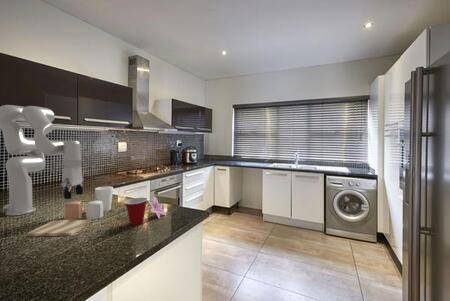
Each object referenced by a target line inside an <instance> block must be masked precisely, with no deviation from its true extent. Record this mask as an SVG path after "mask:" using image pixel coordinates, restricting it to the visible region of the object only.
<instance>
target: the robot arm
mask: <svg viewBox="0 0 450 301" xmlns="http://www.w3.org/2000/svg"><path fill="white" fill-rule="evenodd" d="M54 120H55V113H54V112H53V110H52V109H50V108H49V107H48V108H47V107H42V106H35V105H27V106H21V105H14V104H5V105H1V106H0V129H1V132H2V138H3V141H4V145H5V150H6V152H7V153H8V154H10V155H21V156H14V157H11V158H8V159H7V161H5V168H6V172H7V176H8V197H9V198H8V199H9V200H8V202H9V203H8V204H5V205H4V206H3V207H2V209H3V210H7V211H6V212H5V216H10V217H11V216H12V217H13V216H20V215H25V214H26V215H27V214H31V213H33V212H35V211H37V208H36V207H34V206H33V181H32V177H31V176H30V175H29V174H30V173H35V172H40V171H43V170H44V169H45V167H46V159H45V155H46V156H57V155H58V156H61V155H63V169H62V177H61V183H60V185H61V190H62V191H63V198H64V200H70V199H72V187H75V186H76V187H75V194H76V195H83V194H84V193H83V190H84V189H83V187H84V185H83V184H84V183H85V182H84V180H85V177H83V171H82V170H83V169H82V153H81V152H82V151H81V150H82V149H81V146H82V145H81V142H80V141H79V140H50V139H49V138H48V137H47V136H46V135H48V134H50V133H51V132H52V131H54V124H53V123H52V122H54ZM17 122H25V123H27V124H28V125H30V127H31V129H33V131H34V134H33V137H26V136H25V134H24V129H23V128H22V127H21V125H19V123H17ZM22 155H23V156H22ZM28 173H29V174H28Z"/></svg>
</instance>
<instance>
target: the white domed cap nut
mask: <svg viewBox="0 0 450 301" xmlns="http://www.w3.org/2000/svg"><path fill="white" fill-rule="evenodd" d="M103 217H104V211H103V203H102V201H97V200H91V201H87V202H86V204H85V220H91V221H93V220H94V221H95V220H98V219H101V218H103Z"/></svg>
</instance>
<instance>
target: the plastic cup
mask: <svg viewBox="0 0 450 301" xmlns="http://www.w3.org/2000/svg"><path fill="white" fill-rule="evenodd" d="M147 201H148V197H136V198H135V197H134V198H130V199H127V200H125V201H124V202H123V204H124V205H125V207H126V211H127V214H128V219H129V224H130V225H131V226H140V225H142V224H143V222H144V218H145V213H146V206H147Z"/></svg>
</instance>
